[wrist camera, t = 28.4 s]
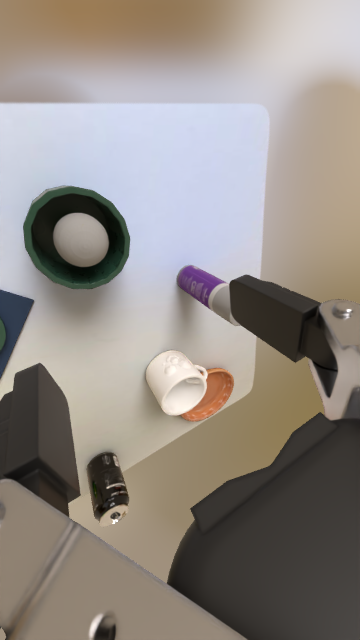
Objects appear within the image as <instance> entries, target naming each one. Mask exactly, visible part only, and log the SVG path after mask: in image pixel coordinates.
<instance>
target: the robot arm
mask: <svg viewBox="0 0 360 640" xmlns="http://www.w3.org/2000/svg"><path fill="white" fill-rule="evenodd" d="M229 292H230V309H231V314H232V316H233V318H234V320H235V321H236V322H237V323H239V324H240V325H241V326H243V327H244V328H246V329H247V330H249V331H250V332H252V333H253V334H254V335H256V336H257V337H259V338H260V339H262V340H263V341H265V342H266V343H267V344H269V345H270V346H272V347H273V348H275V349H276V350H278V351H279V352H280V353H282V354H283V355H285V356H287V357H288V358H289V359H291V360H292V361H294V362H297V361H299V360H301V359H302V358H304V357H305V356H306V357H308V358H309V367H310V370H311V373H312V376H313V378H314V381H315V384H316V386H317V389H318V392H319V395H320V397H321V400H322V403H323V406H324V415H323V414H322V413H321V412H320V413H318V414H317V415H316V416H314V417H313V418H311V419H310V420H309V421H308V422H306V423H305V424H303V425H302V426H301V427H299V428H298V429H297V430H295V431H294V432H293V433H292V435H291V436H290V438H289V439H288V441H287V442H286V444H285V445H284V447H283V448H282V450H281V451H280V453H279V454H278V456H277V457H276V459H275V460H274V462H273V463H272V464H271V465H270V466H268V467H266V468H263V469H260V470H257V471H254V472H252V473H249V474H246V475H243V476H240V477H237V478H234V479H232V480H229V481H227V482H226V483H224V484H223V485H221V486H220V487H219V488H217V489H216V490H215V491H213V492H212V493H211V494H209V495H208V496H207V497H205V498H204V499H203V500H201V501H200V502H199V503H197V504H196V505H194V506H193V507H192V508H191V512H192V514H193V516H194V519H195V520H194V522H193V523H192V524H191V526H190V527H189V529H188V530H187V532H186V533H185V535H184V537H183V539H182V540H181V542H180V545H179V547H178V549H177V552H176V554H175V556H174V559H173V562H172V565H171V569H170V572H169V576H168V581H167V584H166V583H165V582H163V581H162V580H160V579H159V578H157V577H156V576H154V575H153V574H151V573H150V572H149V571H147V570H146V569H144V568H143V567H141V566H140V565H138V564H137V563H135V562H134V561H133V560H131V559H130V558H128V557H127V556H125V555H124V554H122V553H121V552H119V551H118V550H116V549H115V548H113V547H112V546H111V545H109V544H108V543H106V542H105V541H103V540H102V539H100V538H99V537H97V536H96V535H94V534H93V533H91V532H90V531H89V530H87V529H86V528H84V527H83V526H81V525H80V524H78V523H77V522H75V521H73V520H72V519H70V518H69V509H68V503H69V502H71V501H72V500H74V499H76V498H77V497H79V496H80V495H81V494H80V487H79V480H78V473H77V465H76V458H75V451H74V443H73V436H72V429H71V422H70V414H69V407H68V403H67V400H66V397H65V395H64V393H63V392H62V390H61V389H60V387H59V386H58V385H57V383H56V382H55V380H54V379H53V378H52V376H51V375H50V374H49V372H48V371H47V369H46V368H45V367H44V366H43V365H42V364H41V363H38V364H36V365H34V366H31V367H29V368H27V369H24V370H22V371H20V372H17V373H16V374H15V378H14V386H13V391H12V392H9V393H7V394H5V395H4V396H3V398H2V399H1V401H0V628H1V627H2V629H3V630H4V632H5V634H6V639H5V640H360V304H358V303H356V302H352V301H348V300H340V299H335V300H329V301H325V302H323V303H320V302H317V301H315V300H313V299H310V298H308V297H305V296H303V295H301V294H298V293H296V292H293V291H290V290H289V289H286V288H282V287H281V286H279V285H277V284H274V283H272V282H266V281H261V280H259V279H257V278H254V277H252V276H250V275H243V276H241V277H239V278H237V279H234V280H232V281H231V282H230V284H229Z"/></svg>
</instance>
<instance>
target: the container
mask: <svg viewBox="0 0 360 640" xmlns="http://www.w3.org/2000/svg"><path fill="white" fill-rule="evenodd" d="M177 283H178V285H179V287H180V288H182V289H183V290H184V291H186V292H187V293H189V294H190V295H191V296H193V297H194V298H195V299H197V300H198V301H200V302H201V303H202V304H204V305H205V306H206V307H208V308H209V309H211V310H212V311H213V312H215V313H216V314H218V315H219V316H221V317H222V318H224V319H225V320H227V321H228V322H230V323H231V324H233V325H235V326H240V324H239V323H237V322H236V321H235V320H234V318H233V316H232V314H231V309H230V292H229V284H228V283H226V282H224V281H222V280H221V279H219V278H217V277H215V276H213V275H211V274H209V273H207V272H205V271H203V270H201V269H199V268H197V267H195V266H193V265H187V266H185V267H183V268H182V269H181V270H180V271H179V273H178V276H177Z"/></svg>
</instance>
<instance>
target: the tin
mask: <svg viewBox="0 0 360 640" xmlns="http://www.w3.org/2000/svg"><path fill="white" fill-rule="evenodd" d="M71 213H84V214H87V215H89V216H92V217H93V218H95V219H96V220H97V221H98V222H100V223H101V225H102V226H103V227H104V229H105V230H106V233H107V235H108V240H109V246H108V251H107V253H106V255H105V257H104V258H103V259H102V260H101V261H100V262H99V263H97V264H95V265H93V266H89V267H79V266H75V265H72V264H70V263H68V262H67V261H66V260H64V259H63V258H62V257H61V256H60V254H59V253H58V251H57V249H56V247H55V245H54V241H53V232H54V228H55V226H56V224H57V222H58V221H59V220H60V219H61V218H62V217H64V216H66V215H68V214H71ZM23 230H24V240H25V248H26V250H27V252H28V254H29V256H30V257H31V259H32V261H33V263H34V265H35V266H36V268H37V269H38V270H40V271H41V272H42V273H43V274H44V275H46V276H47V277H48V278H49V279H50V280H52V281H53V282H55V283H58V284H61V285H63V286H66V287H69V288H72V289H93V288H95V287H98V286H101V285H104V284H106V283H109V282H110V281H111V280H112V279H113V278H114V277H115V276H117V275H118V274H119V273H120V272H121V271H122V269H123V267H124V265H125V263H126V261H127V259H128V257H129V247H130V236H129V233H128V229H127V226H126V222H125V220H124V218H123V217H122V215H121V214H120V213H119V211H118V210H117V209H116V207H115V206H114V205H113V203H112V202H110V201H109V200H107V199H106V198H104V197H103V196H101V195H100V194H98V193H96V192H95V191H93V190H89V189H84V188H79V187H74V186H60V187H55V188H51V189H47V190H45V191H44V192H42V193H41V194H40V195H39V196H38V197H36V198H35V199H34V200H33V201H32V204H31V206H30V209H29V211H28V214H27V216H26V219H25V222H24V225H23Z"/></svg>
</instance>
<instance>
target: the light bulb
mask: <svg viewBox="0 0 360 640" xmlns="http://www.w3.org/2000/svg"><path fill="white" fill-rule="evenodd" d="M53 241H54V245H55V247H56V249H57V251H58V253H59V254H60V256H61V257H62V258H63V259H64V260H66V261H67V262H68V263H70V264H72V265H75V266H79V267H89V266H93V265H95V264H97V263H99V262H100V261H101V260H102V259H103V258H104V257H105V255H106V253H107V251H108V246H109V240H108V235H107V233H106V230H105V229H104V227H103V226H102V225H101V223H100V222H98V221H97V220H96V219H95V218H93V217H92V216H89V215H87V214H84V213H71V214H68V215H66V216H64V217H62V218H61V219H60V220H59V221H58V222H57V224H56V226H55V228H54V232H53Z"/></svg>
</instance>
